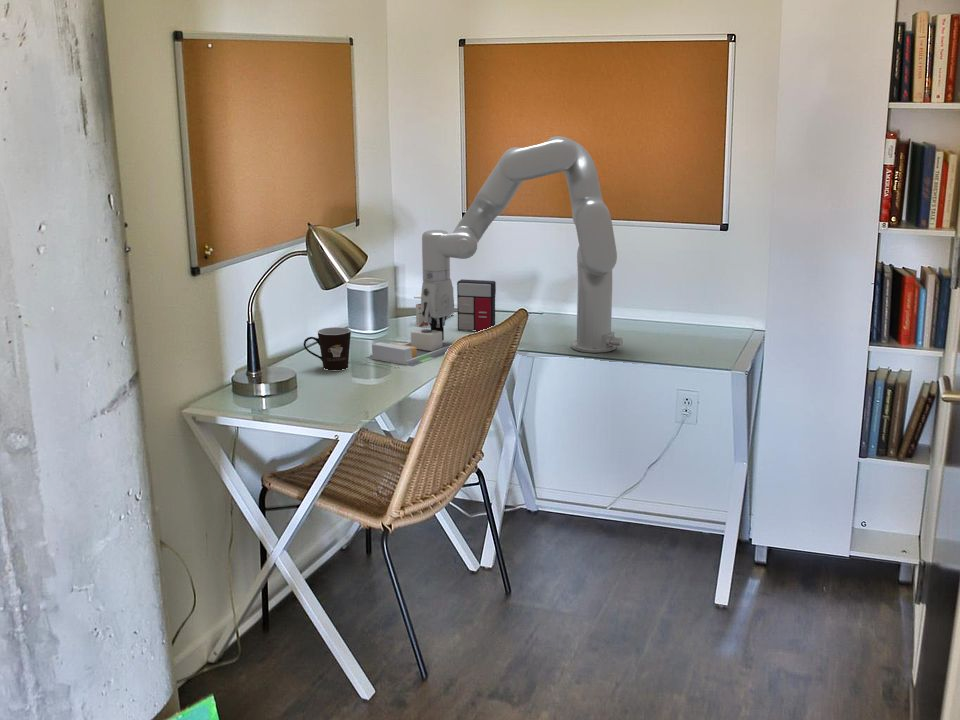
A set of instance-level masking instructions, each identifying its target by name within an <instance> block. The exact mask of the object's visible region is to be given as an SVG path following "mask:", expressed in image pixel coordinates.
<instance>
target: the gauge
mask: <svg viewBox="0 0 960 720" xmlns="http://www.w3.org/2000/svg"><path fill="white" fill-rule="evenodd" d="M410 342H411V346H412V347H417V349H421V350H427V351H434V350H437V349H439V348H442V342H443V341H442V331H435V330H431V329H430V328H429V329H427V328H418V329H416V330H412V331H411V332H410Z"/></svg>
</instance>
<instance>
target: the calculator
mask: <svg viewBox="0 0 960 720" xmlns="http://www.w3.org/2000/svg"><path fill="white" fill-rule="evenodd" d="M456 285H457V287H456V292H457V295H456V296H457V299H456V301H457V303H456V304H457V330H458V331H460V330H476V331H480V330H483V329H487V328H489V327H491V326H494V325H495V326H496V294H497V293H496V290H497V289H496V288H497V287H496V285H497V283H496V281H495V280H480V279H465V278H463V279H460V280H458V281H457V282H456ZM476 331H475V332H476Z"/></svg>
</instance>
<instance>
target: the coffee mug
mask: <svg viewBox="0 0 960 720" xmlns="http://www.w3.org/2000/svg"><path fill="white" fill-rule="evenodd" d="M351 335H352V330H351V329H350V328H348V327H342V326H341V327H340V326H339V327H338V326H335V327H334V326H332V327H325V328H321V329H318V330H317V337H314V336H309V337H307V338H305V339H304V340H303V347H304V349H305V351H307V352H308V353H309V354H311V355H313V356H315V357H316V358H318V359H320V361H322V362H321V363H322V366H323V367H322V368H323V369H324V368H325V369H328V370H342V369H346V368H349V359H350V349H351V347H350V346H351V345H350V344H351ZM309 340H314V341H316V342H317V344H318V345H319V347H320V348H319V349H320V355H319V354H316V353H314V352H313V351H311V350H310V349H308V347H307V346H306V344H307V342H308V341H309ZM346 370H347V369H346ZM342 371H343V370H342Z"/></svg>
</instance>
